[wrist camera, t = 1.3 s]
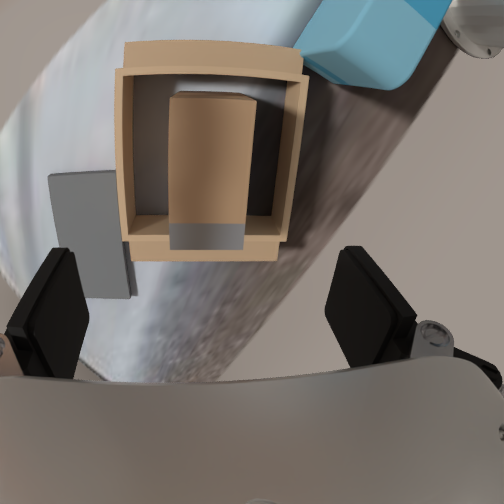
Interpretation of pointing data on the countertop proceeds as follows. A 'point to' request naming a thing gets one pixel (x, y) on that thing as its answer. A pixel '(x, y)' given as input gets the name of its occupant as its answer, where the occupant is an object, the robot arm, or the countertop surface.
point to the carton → (213, 63)
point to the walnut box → (209, 169)
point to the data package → (370, 40)
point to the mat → (91, 230)
